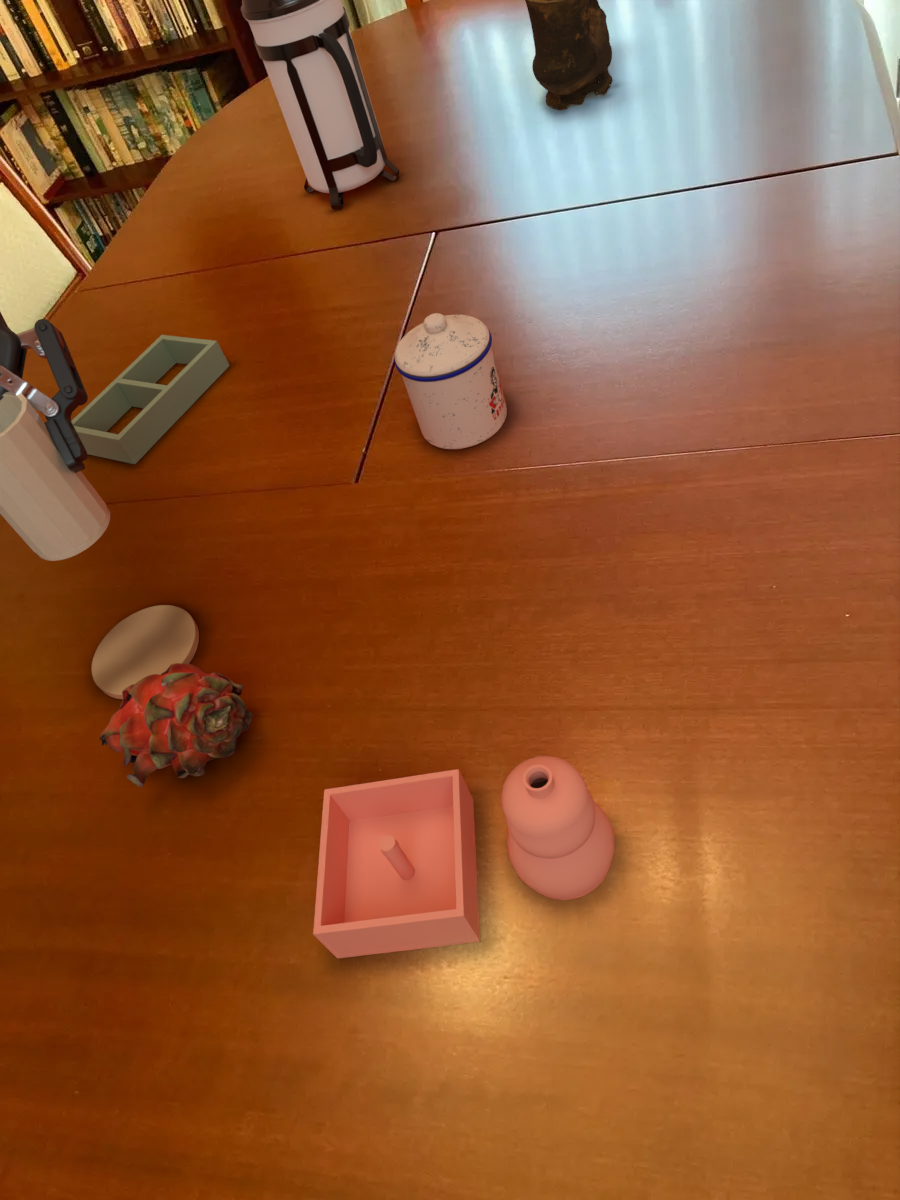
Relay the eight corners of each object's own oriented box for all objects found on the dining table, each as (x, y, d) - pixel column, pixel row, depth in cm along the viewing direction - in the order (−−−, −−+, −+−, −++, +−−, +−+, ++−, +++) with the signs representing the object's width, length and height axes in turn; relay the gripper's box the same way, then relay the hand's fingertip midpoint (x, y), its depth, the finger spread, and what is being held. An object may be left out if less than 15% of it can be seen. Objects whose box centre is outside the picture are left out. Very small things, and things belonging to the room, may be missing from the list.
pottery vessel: (547, 66, 139) (524, -85, 125) (616, 51, 136) (601, -106, 122) (534, 137, 124) (506, -27, 109) (612, 121, 121) (594, -49, 106)
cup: (19, 552, 69) (-78, 445, 61) (73, 496, 72) (-12, 387, 64) (72, 568, 66) (-23, 458, 58) (126, 509, 69) (44, 397, 61)
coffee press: (285, 219, 127) (188, -20, 105) (328, 165, 136) (247, -67, 114) (392, 210, 120) (313, -48, 98) (430, 153, 129) (366, -95, 107)
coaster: (74, 682, 76) (69, 677, 76) (144, 600, 81) (140, 594, 80) (150, 713, 72) (146, 708, 71) (220, 624, 76) (216, 618, 76)
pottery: (337, 958, 55) (275, 897, 47) (345, 818, 61) (291, 745, 54) (628, 924, 52) (610, 852, 44) (605, 780, 58) (586, 697, 51)
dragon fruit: (286, 754, 68) (156, 785, 71) (262, 646, 69) (136, 682, 72) (225, 770, 59) (82, 804, 63) (199, 647, 60) (60, 688, 64)
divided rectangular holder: (80, 452, 100) (62, 428, 98) (175, 358, 109) (161, 334, 106) (135, 464, 96) (118, 440, 93) (230, 365, 104) (216, 340, 102)
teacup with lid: (520, 433, 83) (494, 327, 74) (428, 464, 83) (392, 361, 75) (491, 366, 91) (465, 263, 82) (408, 395, 91) (373, 295, 83)
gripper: (-206, 307, 59) (-88, 530, 60) (-5, 218, 60) (109, 438, 61) (-142, 340, 66) (-38, 538, 67) (36, 260, 68) (136, 456, 68)
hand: (32, 490), depth 64 cm, fingers closed on cup, 6 cm apart
